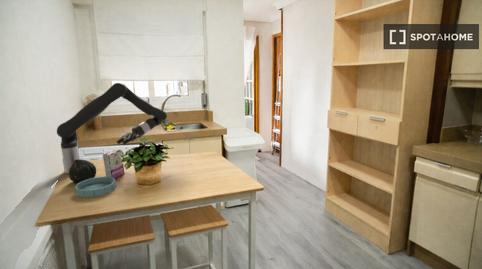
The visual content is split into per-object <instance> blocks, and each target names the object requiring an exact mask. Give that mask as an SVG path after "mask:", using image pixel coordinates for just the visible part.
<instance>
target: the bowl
mask: <svg viewBox="0 0 482 269" xmlns="http://www.w3.org/2000/svg"><path fill="white" fill-rule="evenodd" d="M115 189H117V181H116V179H114V178H113V177H106V176H97V177H96V176H95V177H94V178H91V179H87V180H84V181H82V182H79V183H76V185H74V190H75V194H77V195H76V197H78V198H82V199H84V198H85V199H87V198H88V199H89V198H98V197H101V196H105V195H108V194H110V193H111V192H114V191H115Z"/></svg>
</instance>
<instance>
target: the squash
mask: <svg viewBox="0 0 482 269" xmlns="http://www.w3.org/2000/svg"><path fill="white" fill-rule="evenodd" d="M96 175H97V168H96V166H95V165H94V163H92V162H90V161H88V160H86V159H80V158H79V159H77V160H75V161H74V163H73V164H72V166H71V167H70V169H69V174H68V177H69V180H71V182H73V183H75V184H78V183H79V182H82V181H84V180H87V179H91V178H95V177H96Z"/></svg>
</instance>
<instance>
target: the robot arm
mask: <svg viewBox="0 0 482 269" xmlns="http://www.w3.org/2000/svg"><path fill="white" fill-rule="evenodd" d="M120 98H123V99H125V100H127V101H128V102H130V103H131V104H132V105H134V106H135V108H137V109H138V110H140V111H141V112H143V113H144V114H146V115H147V116H152V117H149V118H147V119H146V120H144V121H143V122H140V123H139V124H137V125H136V126H134V127H132V128H131V131H130V132H127V133H125V134H124V135H122V136H121V137H120V138H119V139H118V140H116V143H117V144H118V145H120V144H121V143H122V144H123V146H125V145H127V144H128V143H131V142H134V141H136V140H137V139H140V138H142V137H143V136H145V135H146V134H148V133H149V132H150V131H151V130H153V129H154V128H155V127H157V126H159V125H161V124H162V123H164V122H165V121H166V120H167V112H165V111H164V110H162V109H160V108H159V107H155V106H153V105H152V103H151V104H150V103H149V102H148V101H146V100H145V99H143V98H141V97H140V96H138V95H137V94H136V93H135V92H133V91H131V89H130V88H128V87H127V86H126V84H125V83H122V82H115V83H114V84H112V85H111V86H110V87H109V88H108V89H107V90H106V91H104V93H103V94H101V95H99V96H98V97H96V98H94V99H93V100H91V101H90V102H88V103H87V104H86V105H84V106H83V107H82V108H81V109H80V110H79V111H78V112H77V113H76V114H75V115H73V117H71V118H70V119H68V120H67V121H64V122H62V123H60V124H59V125H58V126H57V128H56V134H57V135H58V137H60V138H61V141H60V147H61V152H62V153H61V155H62V163H63V169H64V173H65V174H66V175H69V169H70V167H71V166H72V164H73V163H74V161H75V160H77V159H80V153H79V148H78V135H77V130H78V129H80V128H81V127H82V126H84V125H86V124H87V123H89V122H90V121H92V120H93V119H95V118H97V117H98V116H99V115H101V113H103V112H104V111H105V110H106V109H107V108H108V107H109V106H110V105H111V104H112V103H114V102H115V101H116V100H119V99H120Z"/></svg>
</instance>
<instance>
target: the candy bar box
mask: <svg viewBox="0 0 482 269" xmlns="http://www.w3.org/2000/svg"><path fill="white" fill-rule="evenodd" d="M120 153H122V154H123V152H122V149H114V150H110V151H109V152H106V153H104V154H102V159H103V163H104V164H103V165H104V172H105V177H113V178H114V179H115V180H116V179H118V178H120V177H121V176H124V175H125V167H124V166H125V165H124V162H123V163H122V162H121V160H120V159H118V158H120Z"/></svg>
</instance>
